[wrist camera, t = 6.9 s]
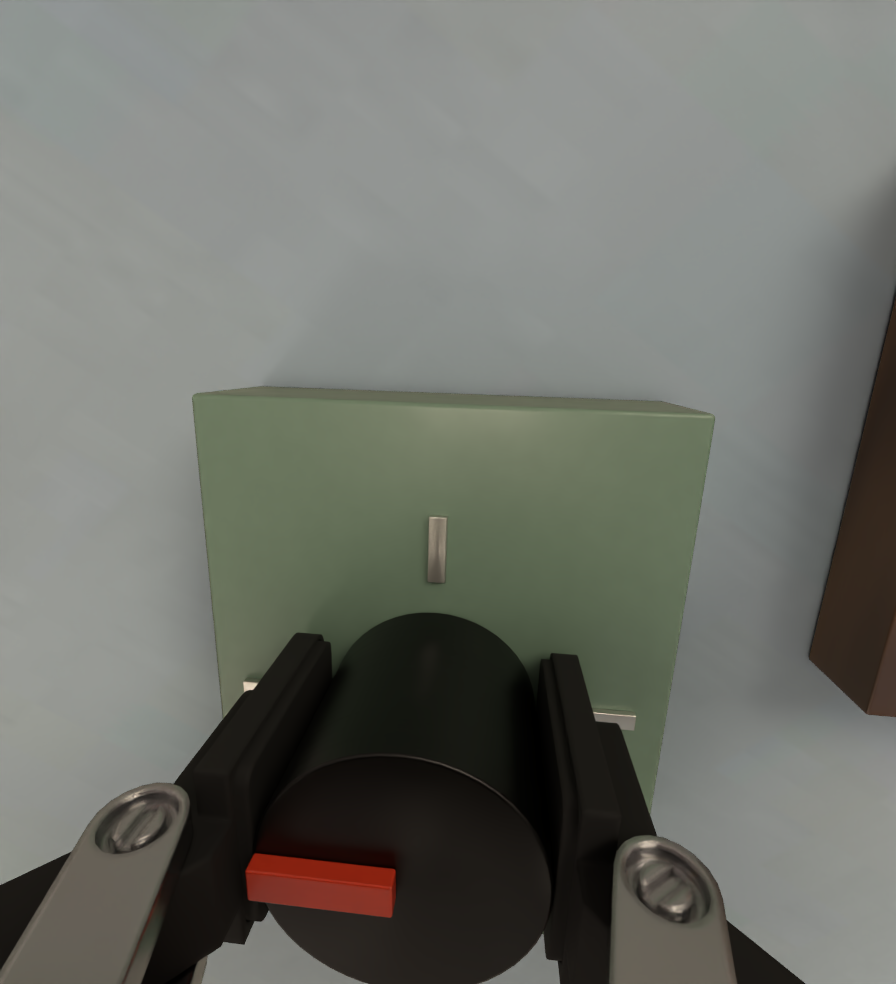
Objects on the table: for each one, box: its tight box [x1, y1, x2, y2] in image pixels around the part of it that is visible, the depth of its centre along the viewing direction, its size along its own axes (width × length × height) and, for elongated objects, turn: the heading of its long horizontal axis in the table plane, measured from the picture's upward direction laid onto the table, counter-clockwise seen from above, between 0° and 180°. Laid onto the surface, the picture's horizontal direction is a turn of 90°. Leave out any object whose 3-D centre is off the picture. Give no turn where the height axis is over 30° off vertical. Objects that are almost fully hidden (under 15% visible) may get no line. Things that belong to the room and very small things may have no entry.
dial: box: [245, 613, 554, 984], centre depth 9 cm, size 4×4×4 cm
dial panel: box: [192, 386, 715, 934], centre depth 13 cm, size 13×10×3 cm
